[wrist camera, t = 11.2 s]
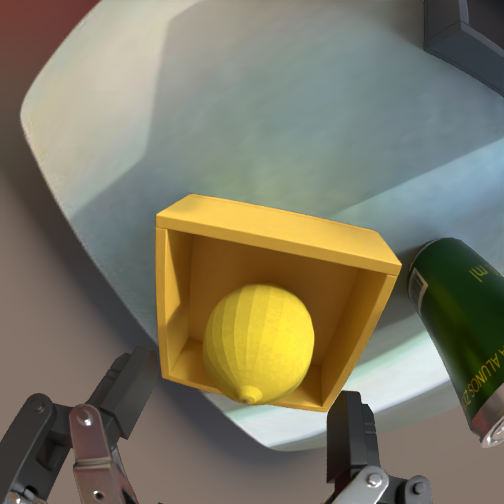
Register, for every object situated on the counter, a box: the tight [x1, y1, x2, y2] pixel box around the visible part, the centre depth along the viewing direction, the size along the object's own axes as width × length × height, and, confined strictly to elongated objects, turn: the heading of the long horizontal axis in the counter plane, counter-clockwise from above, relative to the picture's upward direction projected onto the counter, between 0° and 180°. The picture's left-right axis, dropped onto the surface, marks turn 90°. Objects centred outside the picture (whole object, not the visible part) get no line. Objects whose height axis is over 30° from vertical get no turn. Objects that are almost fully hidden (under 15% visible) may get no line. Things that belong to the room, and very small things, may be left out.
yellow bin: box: [155, 194, 402, 412], centre depth 16 cm, size 11×11×5 cm
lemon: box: [203, 281, 314, 405], centre depth 14 cm, size 6×6×8 cm
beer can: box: [407, 238, 504, 448], centre depth 10 cm, size 5×5×12 cm
